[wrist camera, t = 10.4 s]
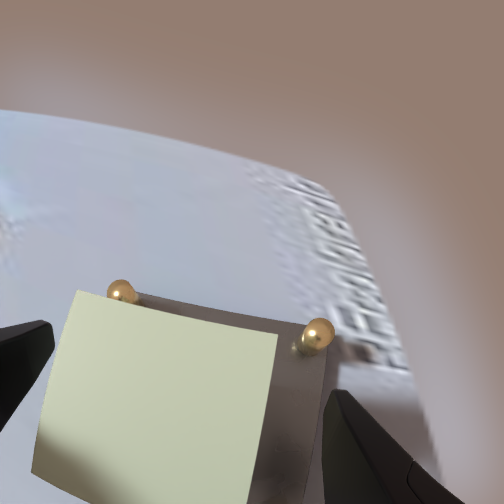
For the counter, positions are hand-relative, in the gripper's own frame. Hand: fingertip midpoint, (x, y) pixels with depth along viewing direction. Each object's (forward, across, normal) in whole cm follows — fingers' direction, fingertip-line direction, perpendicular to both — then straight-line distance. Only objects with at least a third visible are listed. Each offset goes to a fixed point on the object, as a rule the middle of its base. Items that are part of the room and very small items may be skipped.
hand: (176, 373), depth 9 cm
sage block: (+4, 0, +6) cm, 8 cm away
